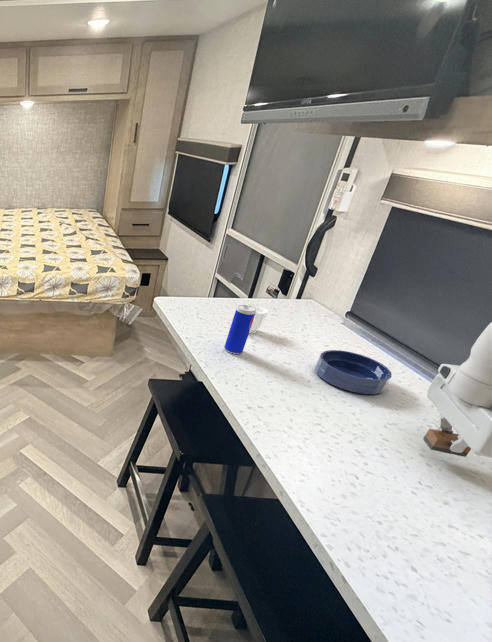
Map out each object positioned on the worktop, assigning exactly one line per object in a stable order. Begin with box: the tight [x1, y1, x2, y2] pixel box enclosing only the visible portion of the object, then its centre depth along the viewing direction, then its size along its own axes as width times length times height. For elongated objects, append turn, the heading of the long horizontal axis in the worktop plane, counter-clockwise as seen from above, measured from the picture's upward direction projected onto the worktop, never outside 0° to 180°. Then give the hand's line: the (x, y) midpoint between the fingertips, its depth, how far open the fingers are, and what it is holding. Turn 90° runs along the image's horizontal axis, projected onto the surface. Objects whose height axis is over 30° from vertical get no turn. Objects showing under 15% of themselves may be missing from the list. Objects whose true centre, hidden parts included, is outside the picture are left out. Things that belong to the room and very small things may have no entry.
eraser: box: [422, 428, 472, 458], centre depth 84 cm, size 6×4×3 cm, turn 66°
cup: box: [248, 304, 269, 334], centre depth 134 cm, size 7×10×8 cm
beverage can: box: [224, 304, 256, 355], centre depth 122 cm, size 5×5×15 cm
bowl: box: [314, 349, 393, 395], centre depth 110 cm, size 15×15×5 cm
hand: (447, 441), depth 84 cm, fingers closed on eraser, 3 cm apart
